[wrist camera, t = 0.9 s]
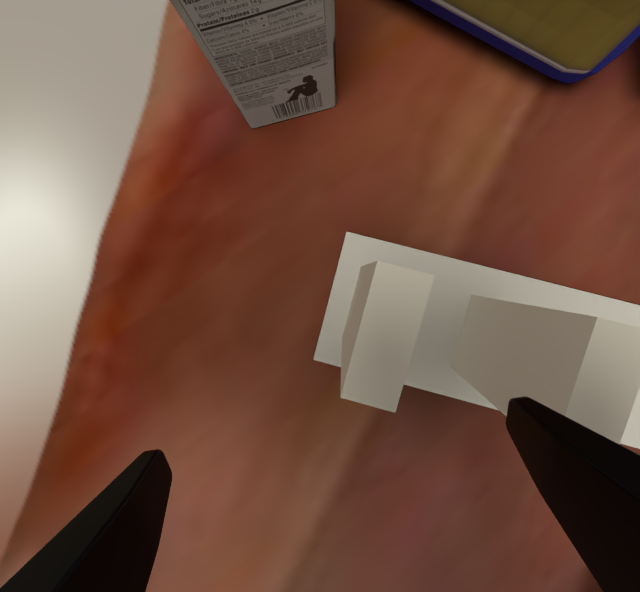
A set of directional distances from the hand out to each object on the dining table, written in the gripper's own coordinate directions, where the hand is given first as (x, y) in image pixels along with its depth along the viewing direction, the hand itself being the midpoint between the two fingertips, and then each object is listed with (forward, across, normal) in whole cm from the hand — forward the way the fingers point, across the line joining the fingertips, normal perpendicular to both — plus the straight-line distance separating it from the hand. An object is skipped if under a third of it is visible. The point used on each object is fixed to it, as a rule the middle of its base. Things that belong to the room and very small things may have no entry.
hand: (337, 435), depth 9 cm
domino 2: (+12, -10, +6) cm, 17 cm away
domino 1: (+14, -3, +3) cm, 15 cm away
